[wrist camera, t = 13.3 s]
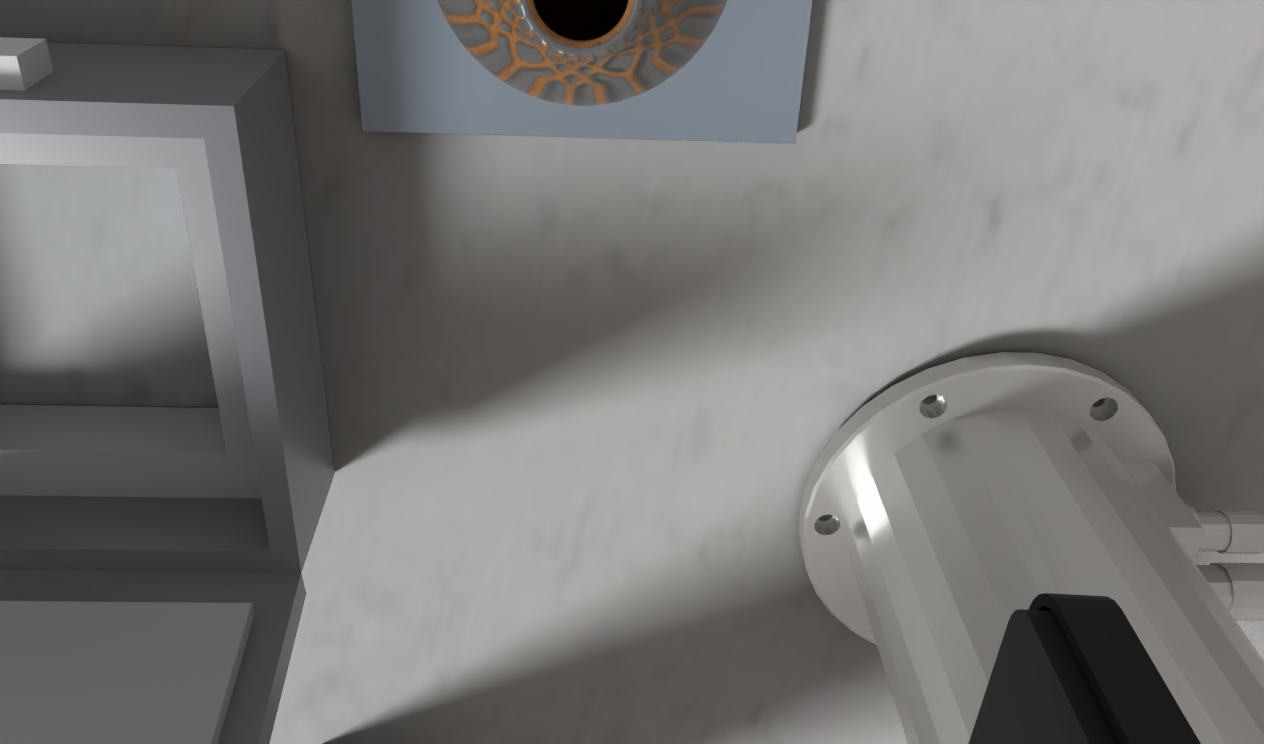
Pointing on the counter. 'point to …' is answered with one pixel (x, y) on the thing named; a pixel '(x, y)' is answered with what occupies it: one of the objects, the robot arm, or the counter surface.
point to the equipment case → (231, 309)
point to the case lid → (144, 655)
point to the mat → (674, 110)
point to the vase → (583, 43)
